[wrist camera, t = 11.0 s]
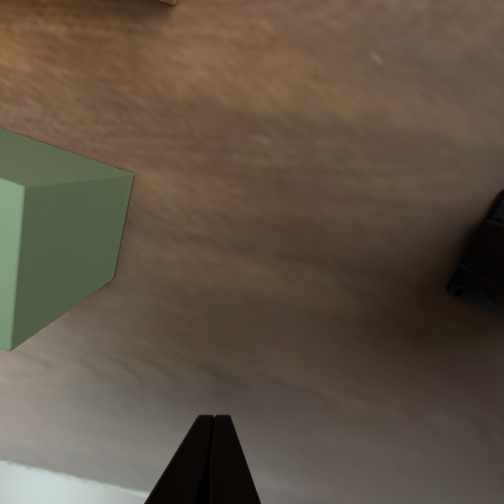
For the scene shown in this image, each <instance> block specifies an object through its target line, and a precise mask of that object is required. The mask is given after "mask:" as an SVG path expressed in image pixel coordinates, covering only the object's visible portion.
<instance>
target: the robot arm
mask: <svg viewBox="0 0 504 504" xmlns="http://www.w3.org/2000/svg"><path fill="white" fill-rule="evenodd" d="M459 287H460V291H459V292H456V293H454V292H455V289H456V288H459ZM446 291H447V293H448V295H450V296H451V297H452V298H454V299H456V300H459V301H462V302H465V303H467V304H470V305H473V306H476V307H479V308H482V309H485V310H488V311H490V312H493V313H496V314H499V315H502V316H504V191H503V192H502V194H501V195H500V197H499V198H498V200H497V202H496V204H495V205H494V207H493V209H492V210H491V212H490V214H489V216H488V217H487V219H486V221H484V222H483V223H482V224H481V226H480V228H479V229H478V231H477V233H476V234H475V236H474V238H473V240H472V241H471V243H470V245H469V246H468V248H467V250H466V252H465V253H464V255H463V257H462V258H461V260H460V265H459V267H458V268H457V270H456V272H455V274H454V275H453V277H452V279H451V280H450V282H449V284H448V286H447V288H446ZM144 504H261V502H260V499H259V497H258V494H257V491H256V488H255V485H254V482H253V479H252V476H251V473H250V471H249V468H248V465H247V462H246V459H245V456H244V453H243V450H242V447H241V445H240V442H239V439H238V436H237V433H236V430H235V427H234V424H233V421H232V419H231V416H230V415H228V414H227V415H216V416H215V417H214V416H213V415H199V416H198V417H197V418H196V420H195V422H194V423H193V425H192V426H191V428H190V430H189V431H188V433H187V435H186V436H185V438H184V440H183V441H182V443H181V444H180V446H179V448H178V449H177V451H176V453H175V454H174V456H173V457H172V459H171V461H170V462H169V464H168V466H167V467H166V469H165V471H164V472H163V474H162V475H161V477H160V479H159V480H158V482H157V484H156V485H155V487H154V488H153V490H152V492H151V493H150V495H149V497H148V498H147V500H146V502H145V503H144Z"/></svg>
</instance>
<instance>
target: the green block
mask: <svg viewBox="0 0 504 504" xmlns="http://www.w3.org/2000/svg"><path fill="white" fill-rule="evenodd" d="M133 177H134V174H133V173H130V172H127V171H124V170H121V169H118V168H115V167H112V166H110V165H107V164H104V163H101V162H98V161H95V160H92V159H89V158H86V157H84V156H81V155H78V154H75V153H72V152H69V151H66V150H63V149H60V148H58V147H55V146H52V145H49V144H46V143H43V142H40V141H37V140H34V139H32V138H29V137H26V136H23V135H20V134H17V133H14V132H11V131H8V130H6V129H3V128H0V349H3V350H6V351H12V350H13V349H14V348H16V347H17V346H19V345H20V344H21V343H23V342H24V341H26V340H27V339H29V338H30V337H31V336H33V335H34V334H36V333H37V332H39V331H40V330H41V329H43V328H44V327H46V326H47V325H48V324H50V323H51V322H53V321H54V320H56V319H57V318H58V317H60V316H61V315H63V314H64V313H65V312H67V311H68V310H70V309H71V308H73V307H74V306H75V305H77V304H78V303H80V302H81V301H82V300H84V299H85V298H87V297H88V296H90V295H91V294H92V293H94V292H95V291H97V290H98V289H99V288H101V287H102V286H104V285H105V284H107V283H108V282H109V281H111V280H112V279H113V278H114V274H115V269H116V263H117V258H118V253H119V248H120V243H121V238H122V233H123V228H124V223H125V218H126V213H127V208H128V202H129V197H130V192H131V187H132V182H133Z"/></svg>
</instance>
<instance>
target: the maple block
mask: <svg viewBox="0 0 504 504" xmlns="http://www.w3.org/2000/svg"><path fill="white" fill-rule="evenodd" d="M159 1H162V2H165V3H168V4H171V5H176V0H159Z"/></svg>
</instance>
